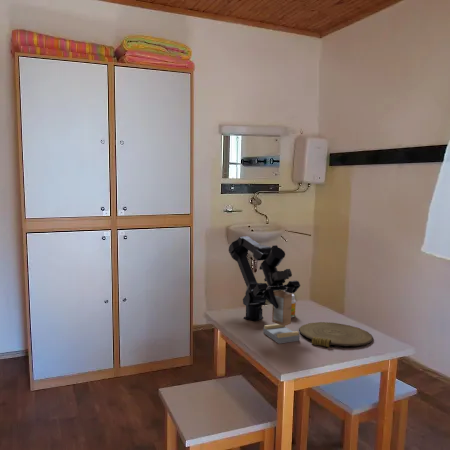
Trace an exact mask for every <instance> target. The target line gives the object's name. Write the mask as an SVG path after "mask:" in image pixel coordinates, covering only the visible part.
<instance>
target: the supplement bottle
mask: <svg viewBox="0 0 450 450" xmlns="http://www.w3.org/2000/svg"><path fill="white" fill-rule="evenodd" d="M296 305H297V301H296V298H295V294H294V293H292V305H291V318H295V316H296Z"/></svg>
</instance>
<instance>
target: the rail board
mask: <svg viewBox="0 0 450 450" xmlns="http://www.w3.org/2000/svg"><path fill="white" fill-rule="evenodd" d="M262 333H263V334H265V335H266V336H267V337H269V338H270V339H272V340H273V342H276V343H277V344H285V343H293V342H299V341H300V331H299V330H297V331H293V330H291V329H290V328H288V327H287V326H282V325H280V324H277V323H273V324H266V325H265V324H264V326H263V332H262Z"/></svg>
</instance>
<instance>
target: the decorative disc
mask: <svg viewBox="0 0 450 450" xmlns="http://www.w3.org/2000/svg"><path fill="white" fill-rule="evenodd" d="M298 332H299V334H301V335H302V336H303V337H305V338H307V339H309V340H311V345H314V346H320V347H326V348H330V347H331V346H339V347H359V346H365V345H368V344H370V343H371V342H372V341H373V340H374V337H373V335H372V334H371V333H370V332H368V331H367V330H364V329H362V328H359V327H357V326H353V325H349V324H344V323H337V322H327V321H326V322H324V321H323V322H322V321H320V322H310V323H309V322H308V323H306V324H303V325H301V326H299V329H298Z"/></svg>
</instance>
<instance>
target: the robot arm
mask: <svg viewBox="0 0 450 450" xmlns="http://www.w3.org/2000/svg"><path fill="white" fill-rule="evenodd" d="M249 252H251V253H252V256H253V258H254V259H255V260H256V261H257V262H259V261H261V263H260V265H259V267H258V268H259V270H262V273H263V275H264V279H263V281H264V282H258V281H257V280H256V279H257V278H256V277H255V274H254V272H253V269H252V266H251V264H250V261H249V260H248V259H249V258H248V254H249ZM228 253H229V255H230V257H231V258H232V259H233V260H234V261H235V262H237V264H238V268H239V270H240V272H241V275H242V279H243V281H244V283H245V286H246V289H245V293H244V294H245V295H244V297H243V298H242V304H243V306H245V316H244V317H243V319H246V320H250V321H253V322H258V321H260V320H262V319H264V316H263V306H265V305H266V302H269V303H270V305H272V307H273V306H274V307H275V308H276V309H278V304H277V301H276V299H275V296H274V292H275V291H279V290H281V291H284V292H288V293H292V294H294V293H295V294H296V293H297V291H298V290H299V288H300V287H301V284H300V282H299V280H289V279H290V278H291V277H293V276H292V275H293V274H292V270H291V268H286V269H284V270H278V268H277V267H278V266H280V264H281V263H282V262H283V260H284V258H286V257H285V256H286V253H285V251H284V250H283V249H282V248H280V247H279V246H278V245H277V244H276V245H274V244H273V245H272V246H269V245H264V244H261V243H258V242H257V241H255V240H254V239H253V238H251V236H246V235H245V236H238V237H237V239H236V240H234V241H232V242H231V244H230V245H229V246H228ZM286 280H289V281H288V282H287V284H285V283H286Z"/></svg>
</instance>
